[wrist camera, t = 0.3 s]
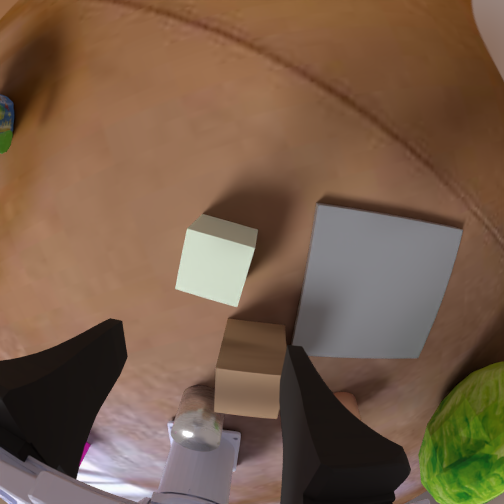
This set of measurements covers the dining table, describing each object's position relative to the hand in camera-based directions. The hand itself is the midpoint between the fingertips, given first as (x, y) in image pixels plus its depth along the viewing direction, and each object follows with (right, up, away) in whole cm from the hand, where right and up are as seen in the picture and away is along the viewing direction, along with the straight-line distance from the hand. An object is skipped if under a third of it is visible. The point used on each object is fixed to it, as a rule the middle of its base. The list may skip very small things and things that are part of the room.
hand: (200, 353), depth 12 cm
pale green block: (0, +5, +9) cm, 10 cm away
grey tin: (-2, -10, +15) cm, 18 cm away
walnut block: (+2, -3, +12) cm, 13 cm away
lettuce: (+29, -10, +13) cm, 33 cm away
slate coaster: (+12, +1, +10) cm, 15 cm away
